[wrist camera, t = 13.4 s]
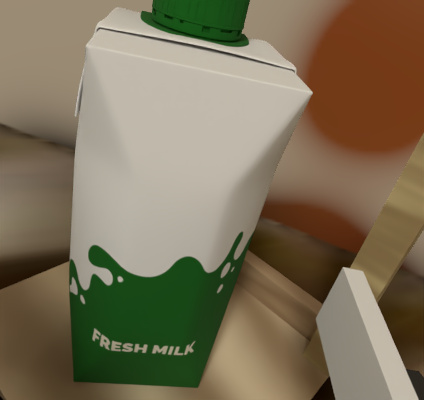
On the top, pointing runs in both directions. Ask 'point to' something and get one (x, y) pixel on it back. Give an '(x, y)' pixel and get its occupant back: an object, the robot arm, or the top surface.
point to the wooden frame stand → (228, 332)
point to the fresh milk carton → (169, 184)
